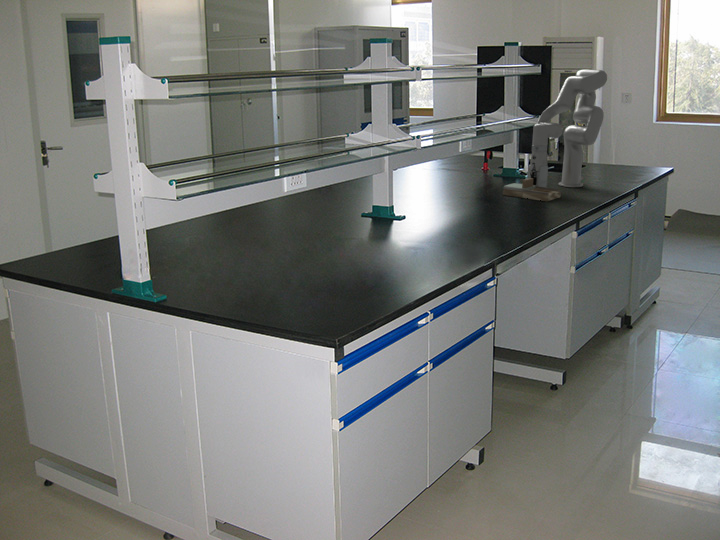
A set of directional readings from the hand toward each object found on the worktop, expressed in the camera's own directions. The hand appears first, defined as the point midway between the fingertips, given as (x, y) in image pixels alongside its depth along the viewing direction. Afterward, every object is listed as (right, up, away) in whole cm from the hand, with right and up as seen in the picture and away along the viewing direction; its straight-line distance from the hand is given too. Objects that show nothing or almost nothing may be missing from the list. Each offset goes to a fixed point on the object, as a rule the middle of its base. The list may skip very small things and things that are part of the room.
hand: (536, 183), depth 385 cm
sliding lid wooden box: (-5, -8, -12) cm, 15 cm away
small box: (0, -4, +1) cm, 4 cm away
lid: (-11, -3, -9) cm, 14 cm away
